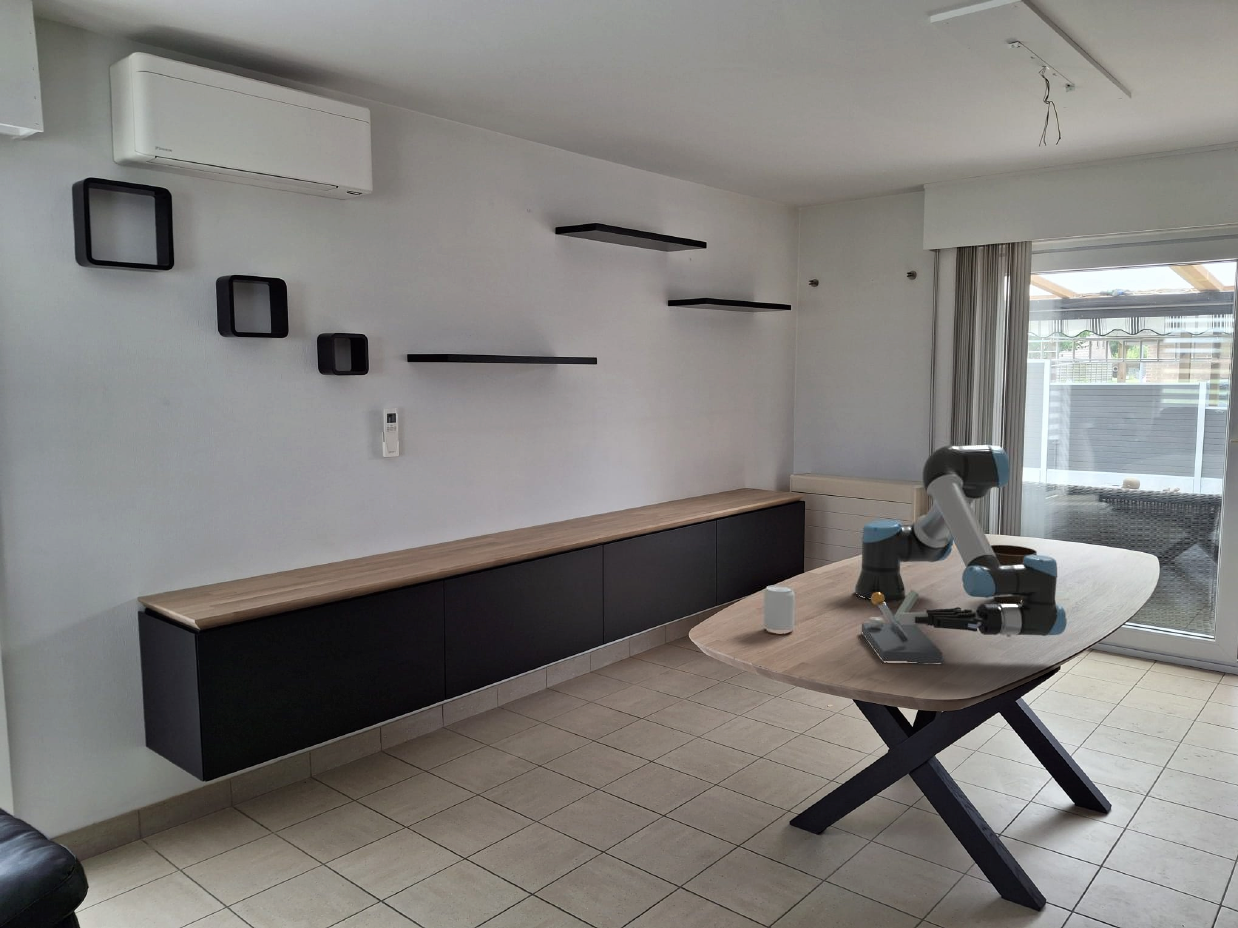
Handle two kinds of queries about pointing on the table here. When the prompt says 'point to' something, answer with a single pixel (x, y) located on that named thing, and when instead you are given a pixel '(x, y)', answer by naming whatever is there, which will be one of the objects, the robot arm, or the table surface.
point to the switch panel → (902, 644)
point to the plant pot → (1011, 557)
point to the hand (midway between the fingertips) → (900, 618)
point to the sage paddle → (907, 604)
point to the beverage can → (779, 607)
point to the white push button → (875, 622)
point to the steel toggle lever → (888, 615)
